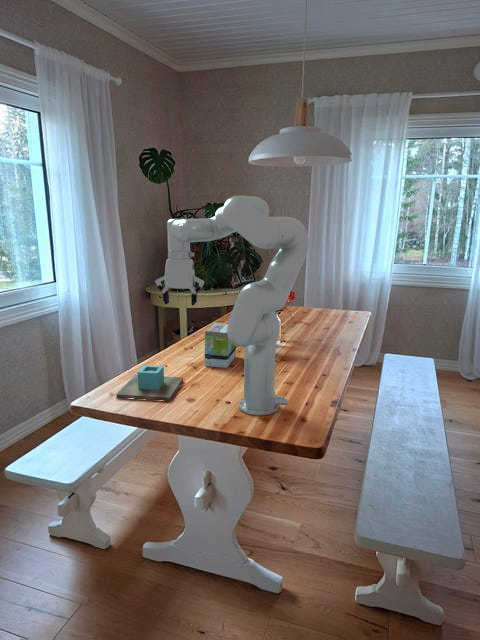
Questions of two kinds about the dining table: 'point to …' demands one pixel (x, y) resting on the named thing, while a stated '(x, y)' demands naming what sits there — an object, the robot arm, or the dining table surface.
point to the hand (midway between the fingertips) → (180, 304)
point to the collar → (150, 377)
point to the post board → (162, 394)
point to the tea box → (218, 346)
